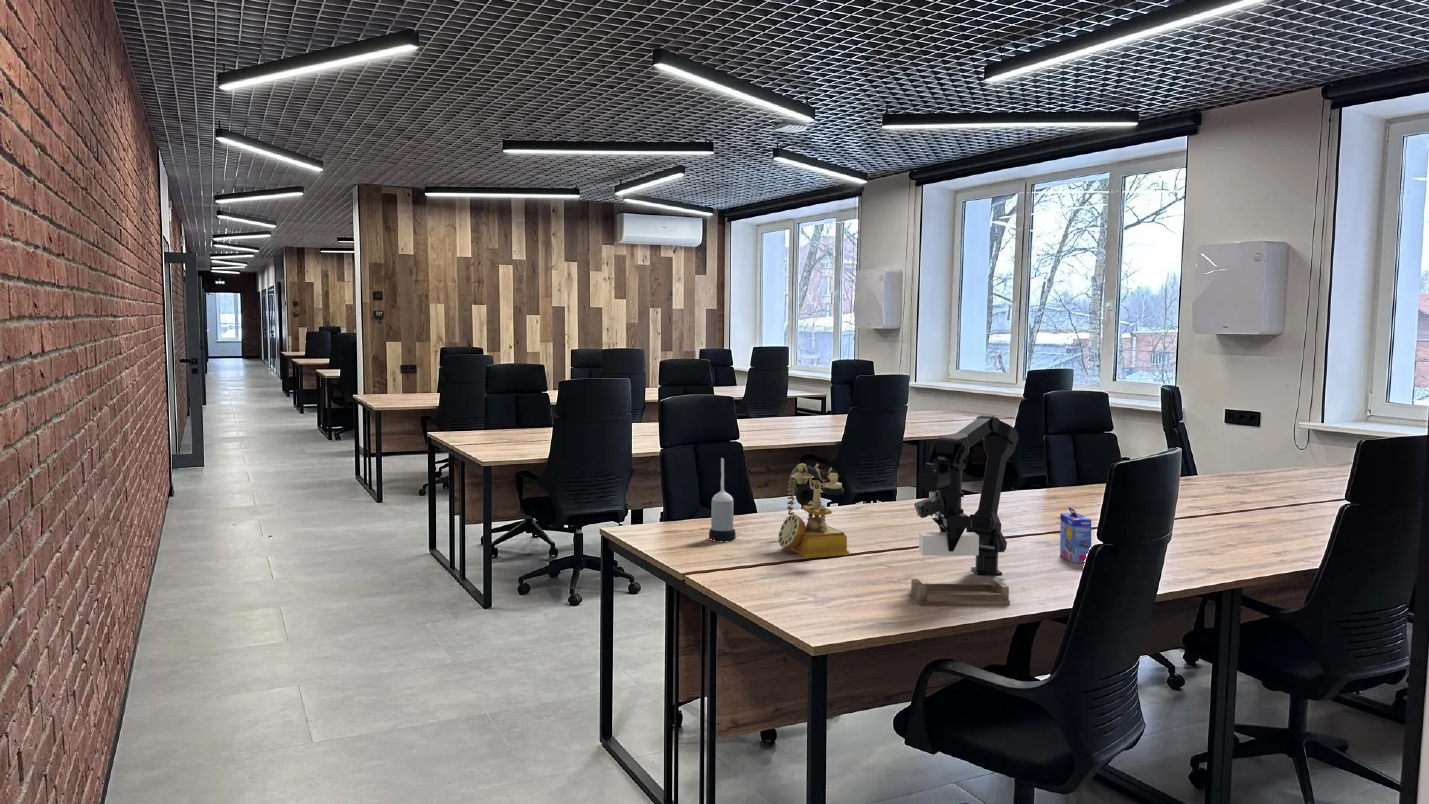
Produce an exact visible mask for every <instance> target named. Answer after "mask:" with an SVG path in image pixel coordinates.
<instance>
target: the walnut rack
mask: <svg viewBox="0 0 1429 804" xmlns="http://www.w3.org/2000/svg"><path fill="white" fill-rule="evenodd" d="M910 582H911V587H910V588H911V589H910V590H909V591H910V592H909V594H910V596H911V597H912V598H913V597H914V598H913V599H914V600H915V601H916V602H917V603H918V605H920V606H1011V600H1010V599H1009V597H1010V596H1009V593H1010V592H1009V591H1010V586H1009V585H1007V584H1006V583H1005V582H1003V581H1002V580H1000V579H999V578H996V577H994V578H993V577H992V578H991V583H981V582H980V583H922V582H921V580H919V578H911V581H910Z"/></svg>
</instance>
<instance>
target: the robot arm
mask: <svg viewBox="0 0 1429 804" xmlns="http://www.w3.org/2000/svg"><path fill="white" fill-rule="evenodd" d="M1019 439H1020V438H1019V432H1018V431H1017V430H1016V428H1015V427H1014V426H1012V425H1011V424H1008V423H1006V422H1004V421H1002V420H1001V419H999V418H998V417H997V416H995V415H986V414H984V415H983V414H981V415H979V416H976V419H974V420H973V421H972V422H970V423H969V424H968V425H966V426H965V427H963V428H961V429H960V430H959V431H957V432H955V433H950V434H944V435H942V436H938V438H937V439H936V440H935V442H934V444H933V447H932V449H931V451H930V454H929V456H928V459H927V461H926V463H925V464H924V468H923V469H922V470H920V472H919V474H918V476H917V484H918V486H919V488H920V489H921V490H922V491H924V492H926V493H930V492H934V496H932V497H927V498H924V499H923V500H919V501H916V502H914V504H913V505H914V508H915V511H916V513H917V516H918V517H920V518H921V519H924V518H927V517H928V516H931V520H932V521H934V522H935V524H937V526H938V528H939V532H946V536H947V544H948V550H949V551H950V552H953V551H954V549H955V547H956V545H957V543H958V541H959V539H960V537H961V535H962V533H963V532H974V533H976V534H977V535H979V555H975V566H972V567H970V569H971V570H972V571H973V572H974V573H975V574H976V575H980V576H985V575H994V576H995V575H997V576H998V575H1003V572H1002V571H1001V570H1000V569H999V553H1005V551H1006V549H1007V545H1008V541H1007V540H1006V538H1005V536H1004V534H1003V532H1002V523H1001V520H1000V518H999V516H998V510H999V504H1000V500H1001V494H1002V488H1003V483H1004V475H1005V471H1006V466H1007V465H1006V464H1007V461H1008V460H1009V458H1010V457H1011V456H1012V455H1013V454H1014V453H1015V451H1016V449H1017V448H1016V447H1017V444H1018V443H1019ZM981 440H983V448H984V451H985V453H986V456H987V459H986V464H985V470H984V476H983V479H982V480H983V481H982V486H981V492H980V498H979V504H978V509H977V510H976V511H975V513H974V514H969V515H968V514H966V513H964V509H963V508H962V498H964V497H965V496H964V495H965V493H964V492H963V488H962V487H963V482H962V481H963V470H964V469H966V468H967V465H966V464H965V463H964V460H965V459H966V458H967V457H968V455H969V454H970V448H971V447H973V446H974V445H975V444H977V443H978V442H980V441H981ZM933 516H934V517H933ZM965 529H966V530H965Z"/></svg>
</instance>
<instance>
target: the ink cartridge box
mask: <svg viewBox="0 0 1429 804" xmlns="http://www.w3.org/2000/svg"><path fill="white" fill-rule="evenodd" d="M1067 508H1068V510H1069V512H1065V513H1064V512H1061V513H1060V515H1059V516H1060V518H1059V519H1060V520H1059V521H1060V528H1059V529H1060V530H1059V533H1060V535H1059V536H1060V537H1059V538H1060V539H1059V545H1060V546H1059V549H1060V550H1059V553H1060V554H1059V555H1060V556H1062V557H1063V558H1065V559H1067V560H1068V561H1070V562H1071V563H1075V564H1076V563H1085V562H1084V560H1085V559H1086V554H1087V553H1088V551H1089V548H1090V547H1091V548H1092V519H1091V518H1089V517H1086V516H1085V515H1083V514H1081V513H1078V512H1076V511H1075V509H1074V508H1071V507H1069V506H1068V507H1067Z"/></svg>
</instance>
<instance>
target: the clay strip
mask: <svg viewBox="0 0 1429 804" xmlns="http://www.w3.org/2000/svg"><path fill="white" fill-rule="evenodd" d="M918 553H919V554H920V555H921V556H923V557H924V556H925V557H926V556H928V557H929V556H930V557H931V556H932V557H935V556H936V557H937V556H976V555H979V535H977V534H976V533H974V532H966V531H964V532H963V533H962V535H961V537H960V539H959V541H958V543H957V545H956V547H955V549H954V551H953V552H950V551H949V550H948V544H947V536H946V532H940V531H939V532H938V531H935V532H930V531H929V532H918Z"/></svg>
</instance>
